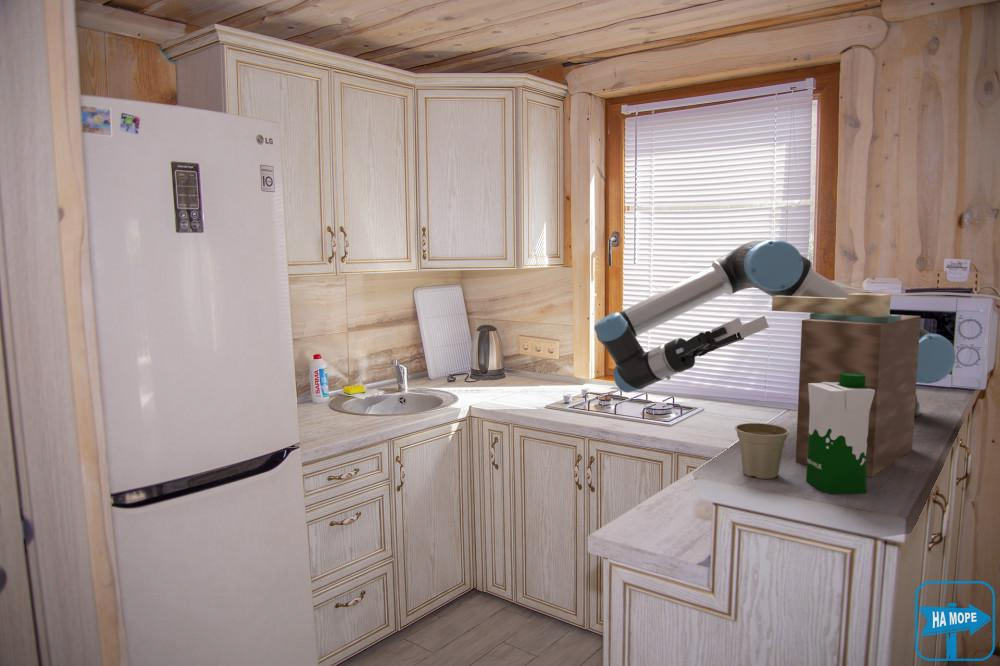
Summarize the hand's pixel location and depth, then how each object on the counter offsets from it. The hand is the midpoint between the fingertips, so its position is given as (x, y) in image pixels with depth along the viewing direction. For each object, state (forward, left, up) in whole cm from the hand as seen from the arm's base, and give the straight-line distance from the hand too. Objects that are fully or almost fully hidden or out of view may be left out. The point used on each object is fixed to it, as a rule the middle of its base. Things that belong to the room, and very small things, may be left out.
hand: (754, 322), depth 154 cm
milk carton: (+5, +32, -26) cm, 41 cm away
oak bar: (-6, +14, +3) cm, 16 cm away
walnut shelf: (-13, +17, -26) cm, 33 cm away
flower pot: (+13, +22, -26) cm, 37 cm away
